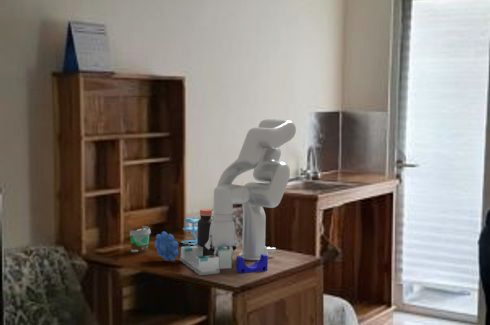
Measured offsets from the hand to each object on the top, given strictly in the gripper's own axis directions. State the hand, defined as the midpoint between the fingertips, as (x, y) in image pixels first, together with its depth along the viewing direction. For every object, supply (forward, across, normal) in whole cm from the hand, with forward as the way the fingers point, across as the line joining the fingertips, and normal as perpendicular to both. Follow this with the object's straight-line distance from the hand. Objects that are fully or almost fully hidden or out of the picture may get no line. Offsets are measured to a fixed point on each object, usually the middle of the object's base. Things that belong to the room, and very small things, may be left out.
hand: (222, 262), depth 285 cm
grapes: (+2, +19, -15) cm, 24 cm away
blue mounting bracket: (+2, -8, +10) cm, 13 cm away
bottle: (+2, +1, -17) cm, 17 cm away
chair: (+2, -3, -44) cm, 44 cm away
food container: (+2, +23, -35) cm, 42 cm away
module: (+2, 0, 0) cm, 2 cm away
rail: (+1, +9, -2) cm, 9 cm away
